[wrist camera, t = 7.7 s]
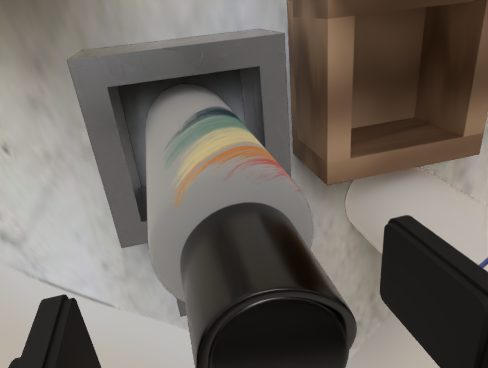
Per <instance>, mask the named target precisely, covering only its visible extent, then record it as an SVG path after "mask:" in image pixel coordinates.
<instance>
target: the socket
mask: <svg viewBox="0 0 488 368" xmlns="http://www.w3.org/2000/svg"><path fill="white" fill-rule="evenodd" d="M67 63H68V66H69V70H70V73H71V77H72V80H73V83H74V87H75V90H76V94H77V97H78V101H79V104H80V107H81V111H82V114H83V118H84V121H85V125H86V128H87V131H88V135H89V138H90V142H91V145H92V149H93V152H94V155H95V159H96V162H97V166H98V169H99V173H100V176H101V179H102V183H103V186H104V190H105V193H106V196H107V200H108V203H109V207H110V210H111V214H112V217H113V220H114V224H115V227H116V231H117V234H118V238H119V241H120V244H121V248H125V247H130V246H134V245H139V244H144V243H148V224H147V186H146V187H141V183H140V179H139V175H138V170H137V166H136V162H135V158H134V154H133V150H132V146H131V142H130V137H129V133H128V129H127V125H126V121H125V117H124V113H123V109H122V104H121V100H120V96H119V92H118V88H117V86H120V85H127V84H134V83H141V82H149V81H156V80H163V79H170V78H177V77H185V76H192V75H199V74H206V73H213V72H220V71H228V70H235V69H240V74H241V85H242V95H243V105H244V116H245V126H246V128H247V129H248V130H249V131H250V132H251V133H252V134H253V135H254V137H255V138H256V139H257V140H258V141H259V142H260V143H261V144H262V146H263V147H264V148H265V149H266V150H267V151H268V152H269V154H270V155H271V156H272V157H273V158H274V159H275V160H276V161H277V163H278V164H279V165H280V166H281V167H282V168H283V169H284V171H285V172H286V173H287V174H288V175H289V176H290V178H291V166H290V144H289V121H288V98H287V76H286V53H285V33H281V32H275V31H269V30H263V29H254V30H246V31H237V32H229V33H221V34H213V35H204V36H196V37H188V38H180V39H171V40H163V41H155V42H147V43H138V44H130V45H122V46H114V47H105V48H97V49H89V50H82V51H80V52H79V53H77V54H75V55H74V56H72V57H71V58H69V59H68V60H67ZM176 299H177V303H178V307H179V312H180V316H181V317H182V316H186V315H187V312H186V305H185V302H184V301H182V300H180V299H178V298H177V297H176Z"/></svg>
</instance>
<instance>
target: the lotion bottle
mask: <svg viewBox="0 0 488 368" xmlns="http://www.w3.org/2000/svg"><path fill="white" fill-rule="evenodd" d="M146 179H147V224H148V246H149V254H150V259H151V263H152V266H153V268H154V271H155V273H156V275H157V277H158V279H159V280H160V282H161V283H162V285H163V286H164V287H165V288H166V289H167V290H168V291H169V292H170V293H171V294H172V295H174V296H175V297H177V298H178V299H180V300H182V301H184V302H185V305H186V312H187V318H188V325H189V331H190V338H191V344H192V350H193V357H194V364H195V368H345V367H346V364H347V361H348V355H349V349H350V348H351V346H352V344H353V342H354V340H355V337H356V331H357V327H356V321H355V318H354V316H353V314H352V312H351V310H350V309H349V307H348V306H347V304H346V303H345V301H344V300H343V298H342V297H341V295H340V294H339V292H338V291H337V289H336V288H335V286H334V285H333V283H332V282H331V280H330V279H329V277H328V276H327V274H326V273H325V271H324V270H323V268H322V267H321V265H320V264H319V262H318V261H317V259H316V258H315V256H314V255H313V253H312V252H311V250H310V247H311V244H312V239H313V217H312V213H311V210H310V207H309V205H308V202H307V200H306V198H305V196H304V194H303V193H302V192H301V190H300V189H299V187H298V186H297V185H296V184H295V182H294V181H293V180H292V179H291V178H290V176H289V175H288V174H287V173H286V172H285V171H284V169H283V168H282V167H281V166H280V165H279V164H278V163H277V161H276V160H275V159H274V158H273V157H272V156H271V155H270V154H269V152H268V151H267V150H266V149H265V148H264V147H263V146H262V144H261V143H260V142H259V141H258V140H257V139H256V138H255V137H254V135H253V134H252V133H251V132H250V131H249V130H248V129H247V128H246V126H245V125H244V124H243V123H242V122H241V121H240V120H239V118H238V117H237V116H236V115H235V114H234V113H233V112H232V111H231V109H230V108H229V107H228V106H227V105H226V104H225V103H224V102H223V101H222V99H221V98H219V97H218V96H217V95H216V94H215V93H214V92H212V91H211V90H209V89H207V88H205V87H202V86H199V85H195V84H181V85H176V86H173V87H171V88H169V89H167V90H165V91H163V92H162V93H161V94H160V95H159V96H158V97H157V98H156V99H155V100H154V102H153V103H152V105H151V106H150V109H149V111H148V114H147V118H146Z"/></svg>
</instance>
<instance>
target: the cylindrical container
mask: <svg viewBox="0 0 488 368" xmlns="http://www.w3.org/2000/svg"><path fill="white" fill-rule="evenodd" d="M345 210H346V214H347V217H348V219H349V221H350V222H351V224H352V225H353V226H354V227H355V228H356V229H357V230H358V231H359V232H360V233H361V234H362V235H363V236H364V237H365V238H366V239H367V240H368V241H369V242H370V243H371V244H372V245H373V246H374V247H375V248H376V249H377V250H378V251H379V252H380V253H381V254H382V251H383V237H384V227H385V225H386V224H388V221H389V220H390V219H391V218H396V217H400V216H404V215H410V216H412V217H413V218H414V219H416V220H417V221H419V222H420V223H421V224H423V225H424V226H425V227H427V228H428V229H430V230H431V231H432V232H434V233H435V234H436V235H438V236H439V237H441V238H442V239H443V240H445V241H446V242H447V243H449V244H450V245H452V246H453V247H454V248H456V249H457V250H458V251H460V252H461V253H463V254H464V255H465V256H467V257H468V258H469V259H471V260H472V261H474V262H475V263H476V264H478V265H479V266H480V267H482V268H483V269H485V270H486V271H487V272H488V206H486V205H484V204H482V203H481V202H479V201H477V200H475V199H474V198H472V197H470V196H468V195H467V194H465V193H463V192H461V191H460V190H458V189H456V188H454V187H453V186H451V185H449V184H447V183H445V182H444V181H442V180H440V179H438V178H437V177H435V176H433V175H431V174H430V173H428V172H426V171H424V170H423V169H421V168H419V167H414V168H410V169H405V170H400V171H395V172H390V173H385V174H380V175H375V176H370V177H365V178H360V179H356V180H353V182H352V183H351V185H350V187H349V189H348V192H347V195H346V200H345Z"/></svg>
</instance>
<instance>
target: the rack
mask: <svg viewBox="0 0 488 368" xmlns="http://www.w3.org/2000/svg"><path fill="white" fill-rule="evenodd" d="M287 11H288V36H289V61H290V86H291V111H292V136H293V153H294V154H295V155H296V156H297V157H298V158H299V159H300V160H301V161H302V162H303V163H304V164H305V165H307V166H308V167H309V168H310V169H311V170H312V171H313V172H314V173H315V174H316V175H317V176H318V177H319V178H320V179H321V180H322V181H323V182H324V183H326V184H327V185H331V184H336V183H341V182H346V181H351V180H356V179H360V178H365V177H370V176H375V175H380V174H385V173H390V172H395V171H400V170H405V169H410V168H414V167H419V166H424V165H429V164H434V163H439V162H444V161H449V160H454V159H459V158H464V157H469V156H473V155H478V154H479V153H480V148H481V143H482V138H483V133H484V127H485V122H486V117H487V112H488V0H287Z"/></svg>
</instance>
